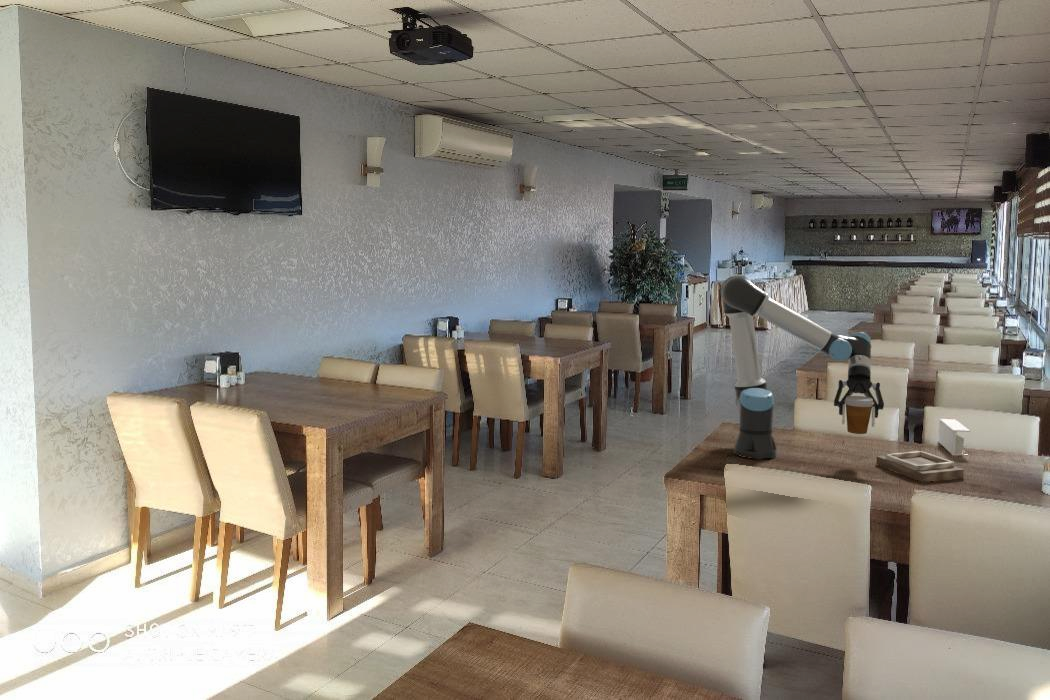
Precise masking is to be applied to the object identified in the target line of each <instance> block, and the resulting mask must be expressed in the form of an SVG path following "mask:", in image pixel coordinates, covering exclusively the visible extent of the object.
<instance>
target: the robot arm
mask: <svg viewBox="0 0 1050 700" xmlns="http://www.w3.org/2000/svg"><path fill="white" fill-rule="evenodd" d="M720 296H721V299H722V307H723V312H724V315H725V316H727V317H728V319H729V325H730V332H731V339H732V347H733V354H734V355H733V357H734V361H735V369H736V375H737V380H736V382H735V383H734V384H733V385H734V390H735V404H736V407H737V409H738V411H739V422H738V423H739V428H738V429H739V430H738V431H739V432H738V434H737V437H736V440H735V443H734V446H733V454H734V453H735V454H738V455H741V456H745V457H751V458H771V459H773V458H776V457H777V454H778V451H777V446H776V443H775V439H774V437H773V423H774V403H775V399H774V394H773V392H772V391H770V390H768V388H767V380H765V378H763V377H762V375H761V373H762V372H761V365H760V359H759V358H760V357H759V351H758V350H759V349H758V344H757V337H756V329H755V321H754V317H759V318H760V319H762V320H765V321H767V322H768V323H770V324H771V325H773V326H775V327H777V328H779V329H780V330H782V331H784V332H786V333H787V334H790V335H791V336H793V337H795V338H797V339H799V340H800V341H802V342H804V343H806V344H807V345H810V346H811V347H813V348H814V351H816V352H818V353H822V354H826V355H827V356H829V357H830V358H832V359H833V360H835V361H839V362H841V361H846V360H847V359H848V360H847V362H848V364H847V366H848V367H847V369H848V370H847V380H845V381H843V380H841V379H839V380H838V384H837V385H838V386H837V387H838V389H837V391H836V394H835V398H834V400H833V406H834V407H838V415H840V416H841V425H845V421H846V404H845V402H844V401H845V399H846V397H848V396H853V394H861V395H862V394H864V395H863V396H864V397H869V398H872V399H873V402H874V404H873V406H872V410H871V427H872V428H874V427H875V424H876V419H877V418H879V410H884V407H885V402H884V399H883V397H882V391H881V389H880V387H881V383H880V382H876V383H873V382H872V381H871V378H872V377H871V372H872V371H871V368H872V367H871V363H872V362H871V360H872V359H871V356H872V355H871V352H872V351H871V350H872V340H871V337H870V335H869V334H867V333H865V332H863V331H859V332H852V333H851V334H850V335H849V336H846V335H845V336H844V335H840V334H836V333H833V332H832V331H830V330H828V329H827V328H824V327H823V326H821V325H819V324H818V323H816V322H814V321H812V320H811V319H808V318H807V317H805V316H803V315H801V314H799V313H798V312H796V311H794V310H792V309H791V308H788V306H785V305H783V304H782V303H779V302H778V301H776V300H774V299H772V298H771V297H770V296H769V294H768V293H767V292H766V291H764V290H762V289H761V288H759V286H756V284H755V283H753V282H752V280H750V279H749V278H748V277H746V276H744V275H738V274H737V275H733V276H732V275H731V276H729V277H728V278H726V279H725V280H724V281H723V283H722V284H721V286H720ZM846 387H848V389H847V391H846V393H845V394H844V395H843V397H842V398H841V395H842V392H843V389H844V388H846ZM871 388H872V389H873V391H874V393H875V397H876V399H875V397H874V396H873V394H872V393H871V390H870V389H871ZM840 398H841V400H840ZM735 454H734V455H735Z"/></svg>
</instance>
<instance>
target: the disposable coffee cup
mask: <svg viewBox="0 0 1050 700" xmlns="http://www.w3.org/2000/svg"><path fill="white" fill-rule="evenodd" d="M844 402H845V417H846V428H847V432H848V433H849V434H855V435H866V434H867V433H868V429H869V423H870V420H871V416H872V406H873V404H874V402H873V399H872V398H869V397H866V396H864V395H863V396H861V395H860V396H859V395H851V396H848V397H846V399H845V401H844Z"/></svg>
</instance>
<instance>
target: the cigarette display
mask: <svg viewBox="0 0 1050 700" xmlns="http://www.w3.org/2000/svg"><path fill="white" fill-rule="evenodd" d="M957 432H959V433H960V432H965V433H966V432H967V433H970V432H971V430H970V429H968V428H967V427H966V426H964V424H962V423H961V422H960V421H958V420H957V419H954V418H953V419H949V418H939V425H938V439H937V443H938V444H940V445H941V446H942V447H944V448H945V450H946V451H948V452H949V453H950V454H951V455H952V454H963V451H964V441H965V438H964V437H962V436H960V435H958V433H957ZM964 455H968V456H969V454H968V453H967V454H964Z"/></svg>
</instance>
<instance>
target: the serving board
mask: <svg viewBox="0 0 1050 700" xmlns="http://www.w3.org/2000/svg"><path fill="white" fill-rule="evenodd" d="M876 464H878V465H877V466H879V465H881V466H883V467H882V468H884V467H885V468H884V469H887V468H888V469H887V470H889V469H891V470H890V471H892V470H893V471H892V472H894V471H896V472H895V473H897V472H898V473H897V474H899V473H901V474H900V475H902V474H903V475H902V476H904V475H905V477H907V476H908V477H907V478H909V477H910V479H912V478H913V479H912V480H914V481H917V480H918V481H917V482H919V483H922V482H923V483H931V482H930V481H933V482H940V481H941V480H943V481H950V480H952V479H953V480H959V479H960V480H962V479H964V474H965V470H964V468H960V467H957V466H955V461H953V460H950V459H947V458H944V457H941V456H938V455H935V454H933V453H929V452H926V451H923V450H922V451H920V450H915V451H907V452H906V451H905V452H894V453H887V454H885V455H877V456H876ZM876 464H875V465H876ZM881 466H880V467H881ZM941 482H942V481H941Z"/></svg>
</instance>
